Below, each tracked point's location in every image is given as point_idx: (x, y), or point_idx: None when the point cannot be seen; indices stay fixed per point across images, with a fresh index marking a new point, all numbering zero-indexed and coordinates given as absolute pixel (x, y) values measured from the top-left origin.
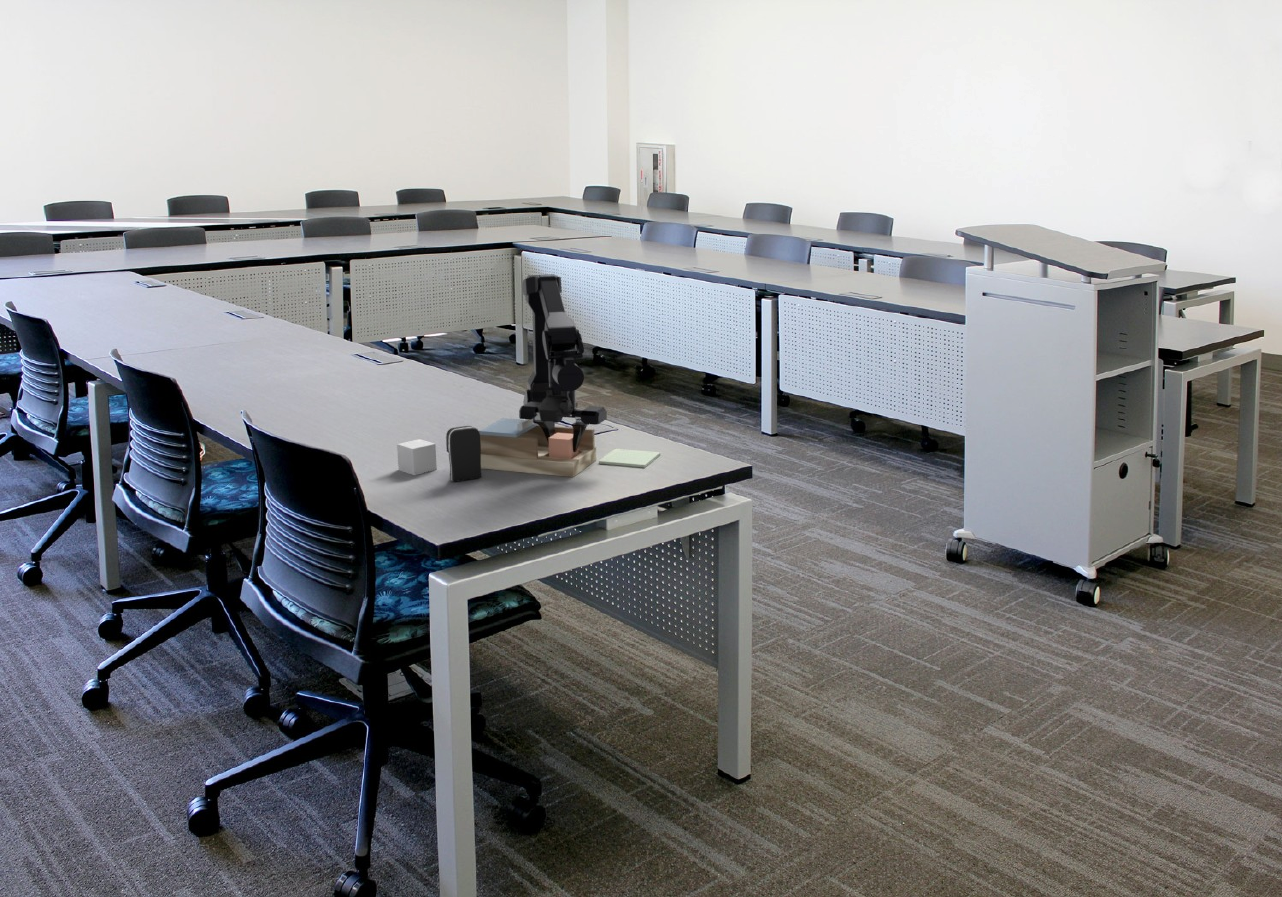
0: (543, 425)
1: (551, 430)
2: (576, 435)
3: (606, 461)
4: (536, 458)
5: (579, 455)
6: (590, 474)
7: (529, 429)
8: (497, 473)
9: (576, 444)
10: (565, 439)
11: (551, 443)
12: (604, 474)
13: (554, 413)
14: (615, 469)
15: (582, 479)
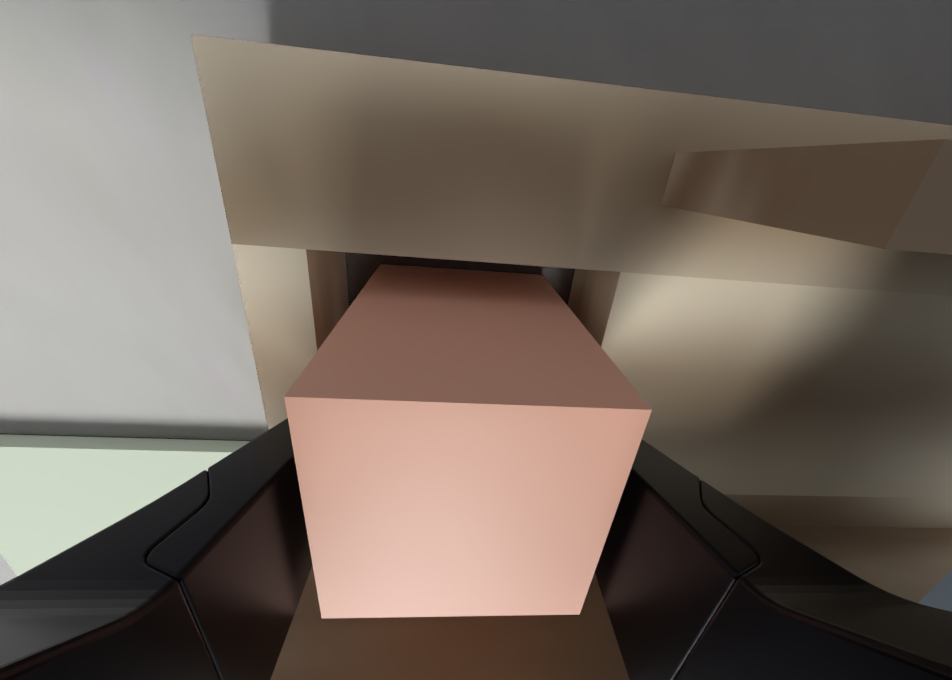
0: (943, 641)
1: (657, 598)
2: (171, 507)
3: (215, 455)
4: (678, 155)
5: (301, 368)
6: (181, 197)
7: (935, 597)
8: (942, 40)
9: (276, 425)
10: (361, 397)
11: (579, 367)
12: (77, 223)
13: None
14: (96, 360)
15: (148, 7)
